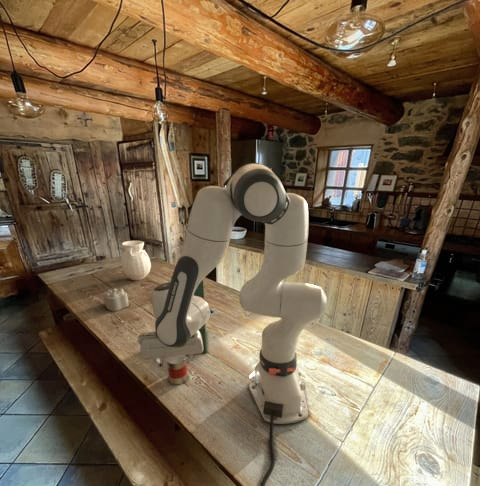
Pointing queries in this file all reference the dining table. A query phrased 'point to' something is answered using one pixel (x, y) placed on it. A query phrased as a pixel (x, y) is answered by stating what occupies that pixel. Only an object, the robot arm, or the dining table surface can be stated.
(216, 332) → the dining table surface
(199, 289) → the lid
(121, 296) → the lumpy-topped squat cylinder
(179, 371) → the can
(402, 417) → the dining table surface
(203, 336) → the chest
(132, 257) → the pitcher
